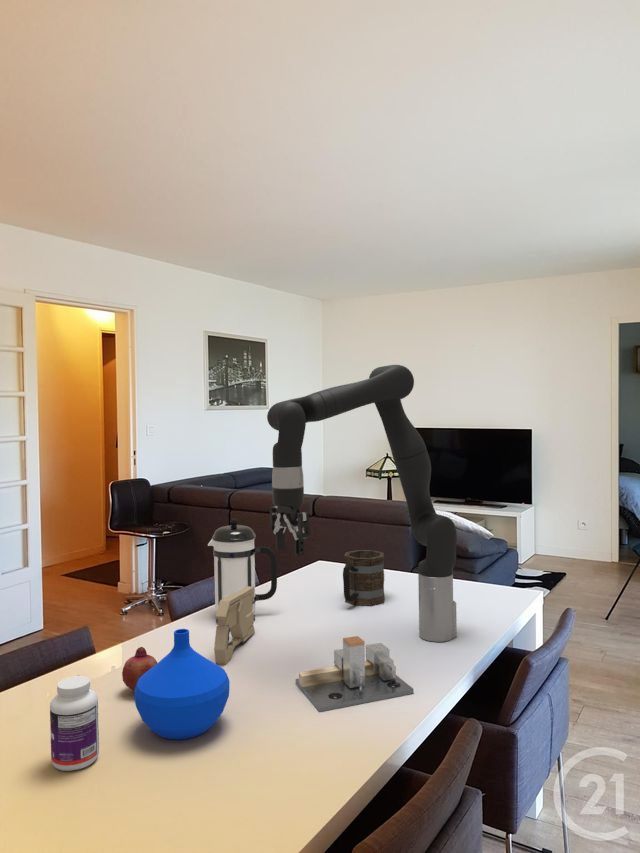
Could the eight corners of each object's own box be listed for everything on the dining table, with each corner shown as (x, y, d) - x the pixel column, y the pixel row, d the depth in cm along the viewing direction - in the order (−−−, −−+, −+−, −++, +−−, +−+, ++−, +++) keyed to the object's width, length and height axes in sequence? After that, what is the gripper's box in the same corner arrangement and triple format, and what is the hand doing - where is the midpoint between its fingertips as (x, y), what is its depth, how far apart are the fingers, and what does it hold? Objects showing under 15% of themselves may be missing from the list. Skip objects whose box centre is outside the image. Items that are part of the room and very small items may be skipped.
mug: (356, 592, 220) (356, 548, 220) (393, 597, 213) (392, 552, 213) (326, 608, 203) (325, 560, 203) (365, 614, 196) (364, 565, 196)
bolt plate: (382, 668, 156) (382, 663, 156) (413, 693, 142) (413, 688, 142) (295, 683, 148) (295, 678, 148) (319, 711, 134) (319, 706, 134)
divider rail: (386, 667, 154) (386, 657, 154) (391, 671, 151) (391, 661, 151) (298, 683, 146) (298, 672, 146) (302, 687, 144) (302, 676, 143)
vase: (185, 761, 116) (182, 655, 115) (114, 735, 126) (112, 637, 125) (249, 719, 131) (247, 625, 131) (182, 698, 141) (180, 611, 140)
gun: (225, 666, 158) (226, 604, 159) (212, 666, 159) (213, 603, 160) (255, 640, 182) (255, 586, 183) (244, 639, 183) (244, 585, 183)
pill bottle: (59, 750, 120) (57, 673, 120) (104, 748, 121) (102, 671, 120) (44, 775, 112) (42, 692, 112) (92, 772, 113) (90, 690, 112)
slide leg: (350, 670, 151) (349, 629, 151) (370, 689, 141) (369, 644, 141) (334, 673, 150) (333, 631, 150) (353, 692, 140) (352, 647, 140)
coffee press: (234, 630, 184) (232, 524, 183) (200, 618, 195) (198, 518, 194) (279, 615, 197) (277, 516, 196) (244, 604, 208) (242, 511, 207)
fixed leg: (381, 665, 154) (380, 642, 154) (402, 682, 144) (402, 658, 144) (365, 668, 153) (365, 645, 153) (386, 685, 143) (386, 661, 143)
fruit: (120, 688, 147) (119, 644, 147) (156, 681, 150) (156, 638, 150) (124, 702, 140) (123, 656, 139) (163, 695, 143) (162, 650, 143)
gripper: (317, 486, 153) (319, 555, 153) (285, 481, 164) (287, 545, 165) (290, 489, 148) (292, 560, 149) (259, 484, 160) (261, 549, 160)
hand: (289, 552), depth 157 cm, fingers open, 8 cm apart
